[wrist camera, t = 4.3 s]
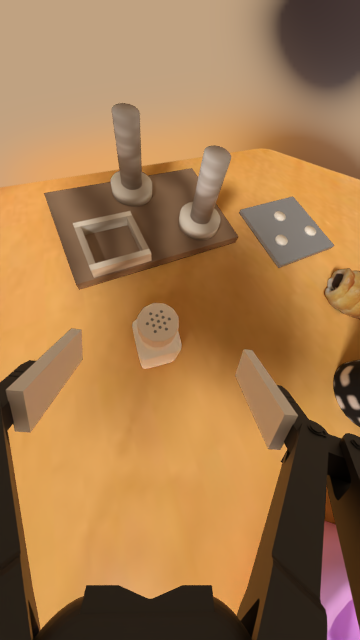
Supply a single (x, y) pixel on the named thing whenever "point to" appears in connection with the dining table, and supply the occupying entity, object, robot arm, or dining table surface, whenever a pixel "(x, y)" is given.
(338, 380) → the spotted tube
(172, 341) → the pepper shaker
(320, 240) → the tile
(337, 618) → the container set
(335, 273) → the pastry
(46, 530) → the dining table surface
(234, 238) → the pin board
